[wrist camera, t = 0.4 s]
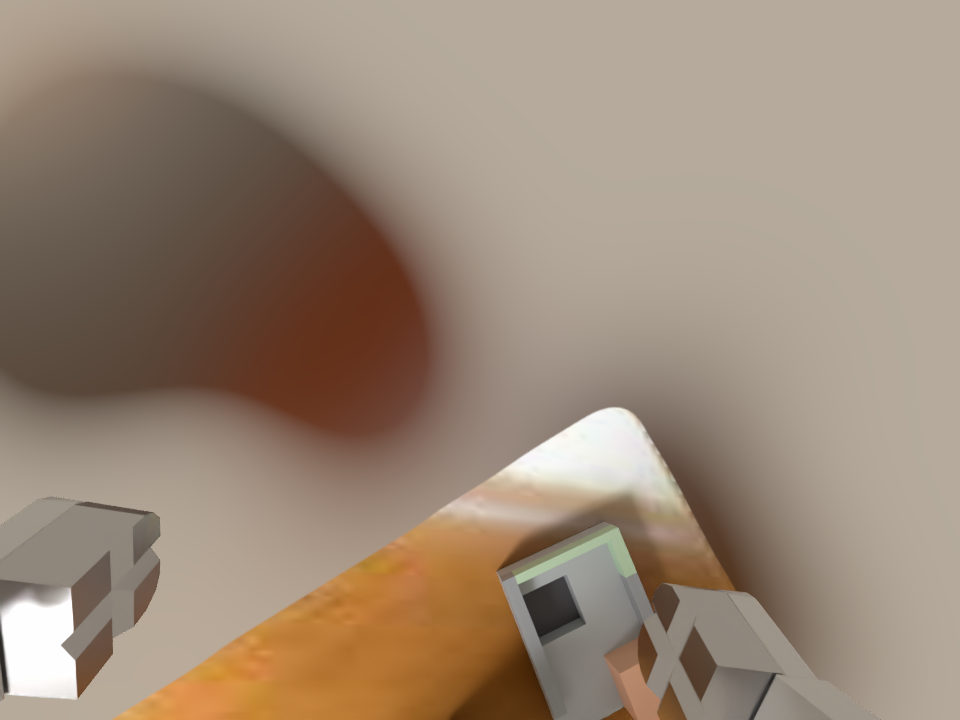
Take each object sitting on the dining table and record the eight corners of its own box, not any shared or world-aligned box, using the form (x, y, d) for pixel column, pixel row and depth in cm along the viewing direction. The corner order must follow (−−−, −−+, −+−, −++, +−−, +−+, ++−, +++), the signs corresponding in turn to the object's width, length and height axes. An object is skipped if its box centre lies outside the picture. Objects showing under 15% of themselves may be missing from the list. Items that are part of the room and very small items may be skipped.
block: (661, 686, 56) (681, 707, 52) (624, 706, 56) (642, 729, 51) (640, 636, 57) (659, 652, 53) (603, 655, 56) (619, 673, 52)
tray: (665, 669, 59) (684, 687, 55) (556, 728, 56) (568, 752, 52) (604, 521, 61) (618, 527, 57) (496, 571, 58) (502, 581, 54)
